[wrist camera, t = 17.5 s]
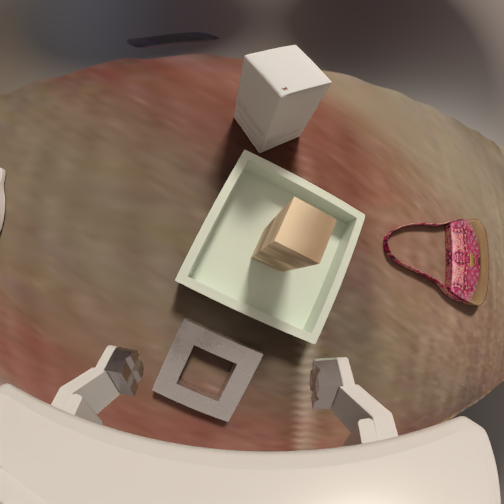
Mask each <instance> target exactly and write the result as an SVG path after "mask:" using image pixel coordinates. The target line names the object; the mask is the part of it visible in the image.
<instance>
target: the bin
mask: <svg viewBox="0 0 504 504" xmlns="http://www.w3.org/2000/svg"><path fill="white" fill-rule="evenodd" d="M293 197H296V198H298V199H300V200H302V201H304V202H306V203H308V204H309V205H311V206H313V207H315V208H317V209H319V210H320V211H322V212H324V213H326V214H328V215H329V216H331V217H333V218H335V219H337V220H336V223H335V226H334V228H333V231H332V234H331V236H330V239H329V241H328V244H327V247H326V249H325V252H324V254H323V257H322V259H321V262H320V264H316V265H312V266H307V267H303V268H298V269H293V270H289V271H284V272H280V271H278V270H276V269H274V268H272V267H269V266H267V265H265V264H263V263H261V262H259V261H257V260H255V259H253V258H251V257H252V255H253V253H254V250H255V248H256V246H257V244H258V242H259V240H260V238H261V236H262V233H263V231H264V229H265V227H266V226H267V225H268V224H269V223H270V222H271V221H272V220H273V219H274V218H275V217H276V216H277V215H278V213H279V212H280V211H281V210H282V209H283V208H284V207H285V206H286V205H287V204H288V203H289V202H290V201H291V199H292V198H293ZM364 218H365V215H364V214H363V213H361V212H360V211H358V210H356V209H355V208H353V207H351V206H350V205H348V204H346V203H345V202H343V201H341V200H340V199H338V198H336V197H335V196H333V195H331V194H329V193H328V192H326V191H324V190H322V189H321V188H319V187H317V186H315V185H313V184H312V183H310V182H308V181H306V180H304V179H302V178H300V177H299V176H297V175H295V174H293V173H291V172H289V171H287V170H285V169H283V168H281V167H279V166H277V165H275V164H273V163H271V162H269V161H267V160H265V159H263V158H261V157H259V156H257V155H255V154H253V153H251V152H249V151H247V150H244V151H243V153H242V155H241V156H240V158H239V160H238V162H237V163H236V165H235V167H234V169H233V170H232V172H231V174H230V176H229V177H228V179H227V181H226V183H225V185H224V186H223V188H222V190H221V192H220V194H219V195H218V197H217V199H216V201H215V203H214V205H213V206H212V208H211V210H210V212H209V214H208V216H207V218H206V220H205V221H204V223H203V225H202V227H201V229H200V231H199V233H198V235H197V237H196V239H195V241H194V243H193V245H192V247H191V249H190V251H189V253H188V255H187V257H186V259H185V261H184V263H183V265H182V267H181V269H180V271H179V273H178V275H177V277H176V279H175V281H177V282H179V283H181V284H183V285H185V286H187V287H189V288H191V289H193V290H195V291H197V292H199V293H201V294H203V295H205V296H207V297H209V298H211V299H213V300H215V301H217V302H219V303H221V304H224V305H226V306H228V307H230V308H232V309H234V310H236V311H239V312H241V313H243V314H245V315H247V316H249V317H252V318H254V319H256V320H258V321H261V322H263V323H265V324H267V325H270V326H272V327H274V328H277V329H279V330H281V331H284V332H286V333H288V334H291V335H293V336H295V337H298V338H300V339H303V340H305V341H308V342H310V343H312V344H315V343H316V341H317V339H318V337H319V335H320V333H321V330H322V328H323V326H324V324H325V321H326V319H327V317H328V314H329V312H330V310H331V307H332V305H333V303H334V300H335V298H336V295H337V293H338V290H339V288H340V285H341V283H342V280H343V278H344V275H345V273H346V270H347V267H348V265H349V262H350V259H351V256H352V254H353V251H354V248H355V245H356V242H357V240H358V237H359V234H360V231H361V228H362V225H363V222H364Z"/></svg>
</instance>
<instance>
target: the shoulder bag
mask: <svg viewBox="0 0 504 504" xmlns="http://www.w3.org/2000/svg"><path fill="white" fill-rule="evenodd" d="M454 221H456V222H454ZM454 221H450V222H452V223H450V222H446V223H449V224H447V225H445V245H446V274H445V286H444V285H443V284H442V283H441V282H440V281H438V280H436V279H435V278H433V277H431V276H429V275H427V274H425V273H423V272H421V271H419V270H417V269H415V268H413V267H411V266H409V265H406V264H405V263H403V262H401V261H399V260H398V259H396V258H395V257H394V256H393V255H392V253H391V252H390V249H389V247H388V237H389V235H390V234H391V233H392V232H393V231H395V230H396V229H398V228H400V227H398V228H396V229H394V230H392V231H390V232H389V233H388V234H387V235H386V236H385V237H384V240H383V245H384V249H385V251H386V253H387V255H388V256H389V257H390V259H392V260H393V261H394V262H396V263H398V264H399V265H401V266H403V267H406V268H408V269H410V270H412V271H414V272H416V273H418V274H420V275H422V276H424V277H426V278H428V279H430V280H431V281H433V282H434V283H436V284H437V285H438V286H439V288H440V289H441V290H442V292H443V293H444V294H446V295H447V296H449V297H450V298H452V299H453V300H455V301H460V302H462V303H464V304H466V305H469V306H479V305H481V304H483V302H484V301H485V299H486V296H487V292H488V281H489V253H488V240H487V234H486V230H485V227H484V226H483V224H482V223H481V222H480V221H479V220H477V219H466V220H462V219H458V220H454ZM446 223H442V224H446ZM442 224H430V223H413V224H408V225H404V226H412V225H422V226H439V225H442ZM404 226H401V227H404Z"/></svg>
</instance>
